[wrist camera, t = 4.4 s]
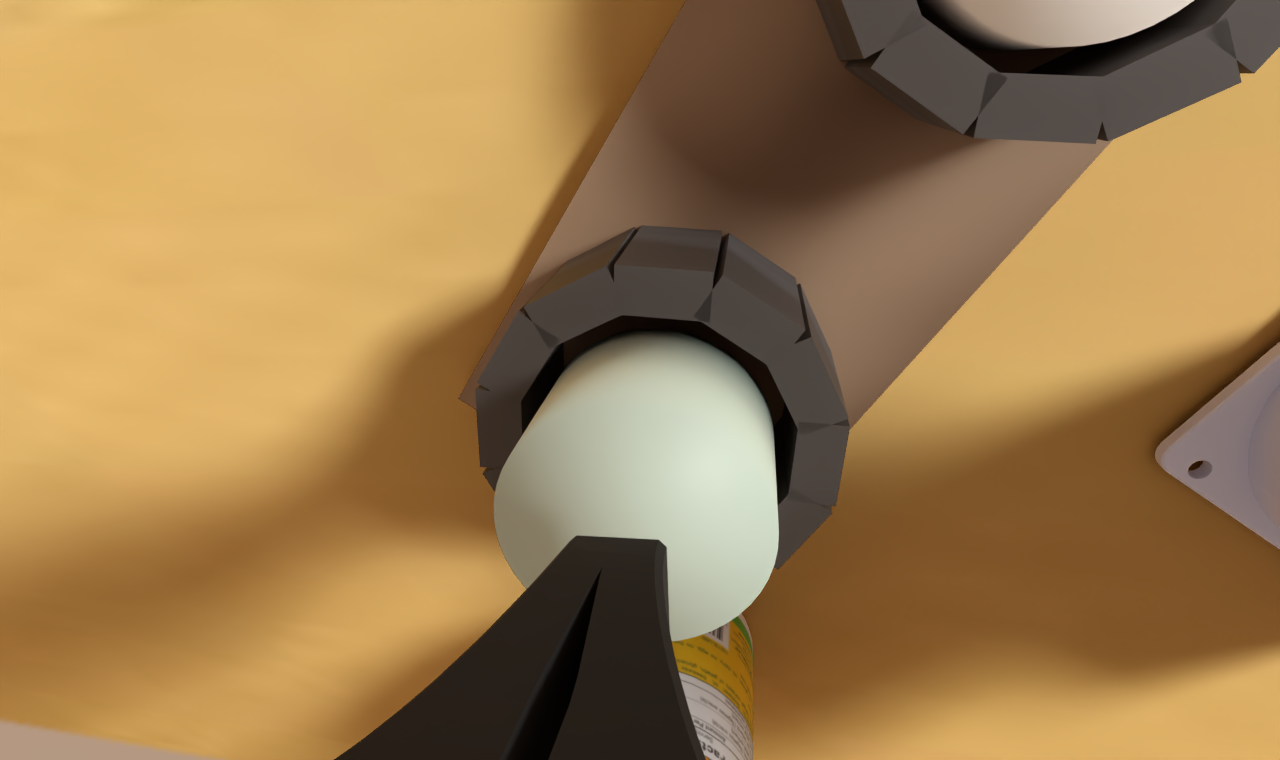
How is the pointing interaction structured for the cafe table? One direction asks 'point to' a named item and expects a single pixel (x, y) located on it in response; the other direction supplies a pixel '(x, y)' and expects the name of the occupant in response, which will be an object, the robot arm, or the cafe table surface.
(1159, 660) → the cafe table surface
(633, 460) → the peg sage
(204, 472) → the cafe table surface
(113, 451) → the cafe table surface
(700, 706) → the supplement bottle
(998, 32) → the peg cream
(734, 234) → the collar board
